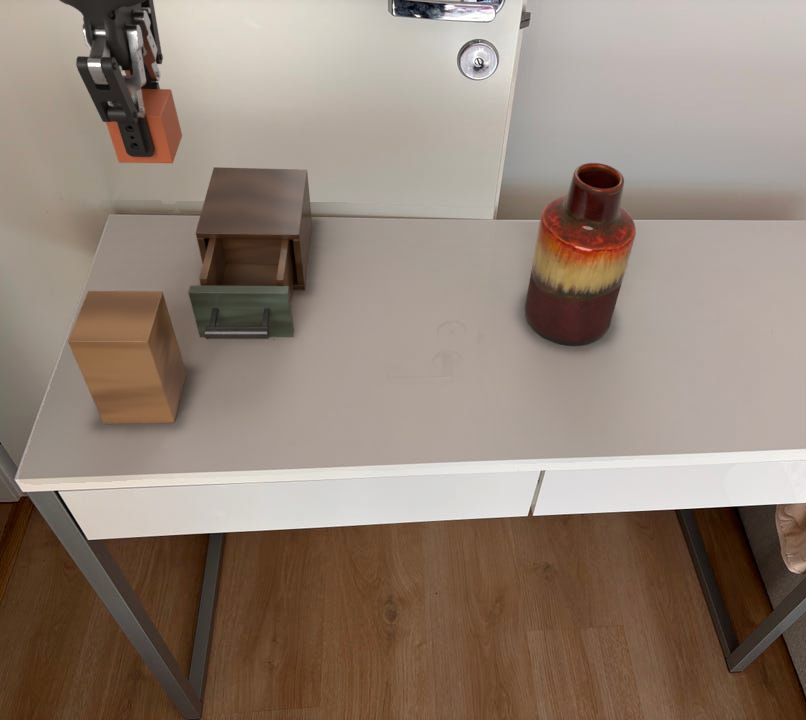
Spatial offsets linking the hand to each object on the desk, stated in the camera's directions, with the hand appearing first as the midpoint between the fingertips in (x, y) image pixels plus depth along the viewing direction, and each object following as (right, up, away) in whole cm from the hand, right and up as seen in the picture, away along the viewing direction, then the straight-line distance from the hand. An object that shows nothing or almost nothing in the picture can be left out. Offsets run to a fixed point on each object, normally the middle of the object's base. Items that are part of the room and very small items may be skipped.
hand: (148, 137), depth 66 cm
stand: (-7, -23, +15) cm, 28 cm away
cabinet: (+1, -6, +32) cm, 33 cm away
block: (0, -1, +1) cm, 1 cm away
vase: (+40, -14, +29) cm, 51 cm away
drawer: (+2, -14, +23) cm, 27 cm away
